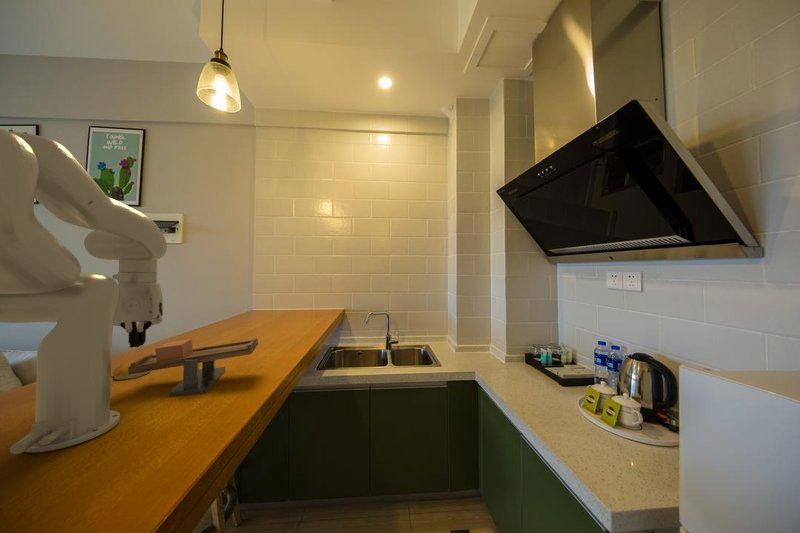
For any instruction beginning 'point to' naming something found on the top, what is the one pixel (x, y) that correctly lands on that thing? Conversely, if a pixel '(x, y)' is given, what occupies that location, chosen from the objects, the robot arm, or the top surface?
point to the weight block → (174, 350)
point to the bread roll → (126, 372)
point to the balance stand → (197, 378)
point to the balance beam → (195, 356)
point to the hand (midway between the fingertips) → (137, 345)
